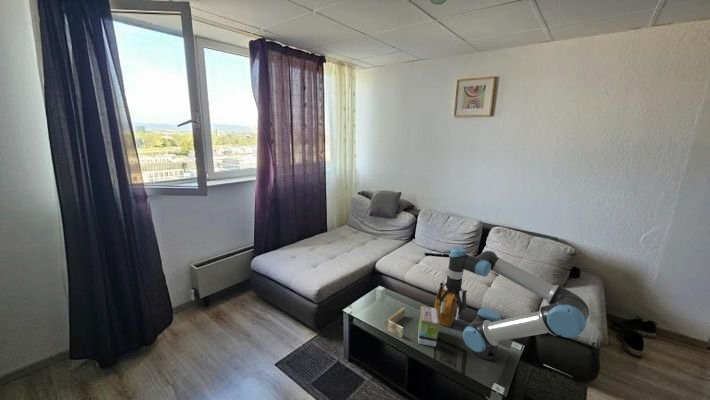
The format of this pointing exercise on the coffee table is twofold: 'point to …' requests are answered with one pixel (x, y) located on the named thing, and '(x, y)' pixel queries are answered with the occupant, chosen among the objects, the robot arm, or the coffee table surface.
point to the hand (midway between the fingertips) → (449, 315)
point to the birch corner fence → (392, 322)
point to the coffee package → (446, 309)
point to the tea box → (428, 326)
